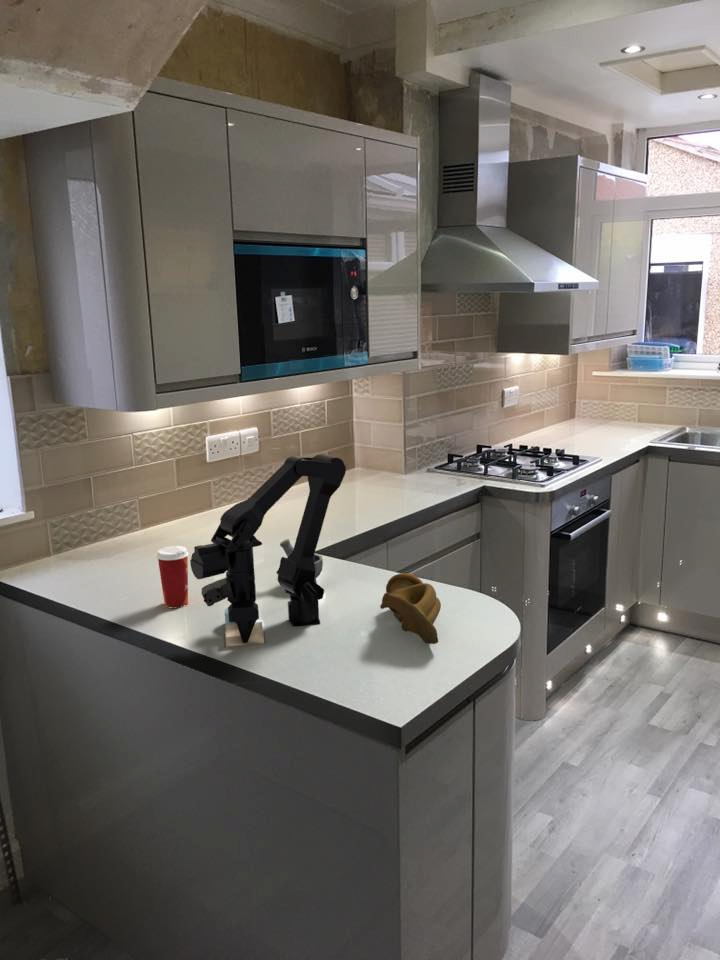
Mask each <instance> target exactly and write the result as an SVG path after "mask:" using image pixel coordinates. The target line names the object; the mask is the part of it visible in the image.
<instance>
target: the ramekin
mask: <svg viewBox="0 0 720 960" xmlns="http://www.w3.org/2000/svg"><path fill="white" fill-rule="evenodd" d="M224 621H225V626H226V625H234V624H236V623H235V622H229V616H228V607H227V608H225V609H224Z"/></svg>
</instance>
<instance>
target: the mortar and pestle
mask: <svg viewBox="0 0 720 960" xmlns="http://www.w3.org/2000/svg"><path fill="white" fill-rule="evenodd" d="M279 546H280V547H281V548H282V550H283V551H284V553H285V555H286V558H287V557H288V556H289V555H290V554H291V553H292V552H293V549H294V547H293V545H292V544H291V541H290V539H289V538H286V539H284V540H282V541H281V542H280V544H279ZM323 561H324V560H323V557H322V555H319V554H316V553H315V554H314V563H315V569H316V574H315V583H317V578H318V577H319V576H320V575H321V573H322V571H323V566H324V562H323ZM317 584H318V583H317Z"/></svg>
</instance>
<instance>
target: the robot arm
mask: <svg viewBox="0 0 720 960" xmlns="http://www.w3.org/2000/svg"><path fill="white" fill-rule="evenodd" d="M346 472H347V466H346V465H345V462H344V461H343V459H341V458H339V457H336V456H332V455H329V454H323V453H319V454H316V455H314V456H313V457H310V456H309V457H306V456H305V457H304V456H303V457H302V456H301V457H300V456H298V457H297V456H289V457H287V458H286V459H285V460H284V463H283V464H282V465H281V466H280V467H279V468H278V469H277V470H276V471H275V472H274V473H273V474H272V475H271V476H270V477H269V478H268V479H266V481H265V482H264V483H263V484H262V485H261V486H259V488H258V489H257V490H256V491H255V492H254V493H253V494H252V495H250V497H248V498H247V499H245V500H242V501H241V502H238V503H236V504H234V505H232V506H231V507H229V509H227V510H226V511H225V512H224V513H223V514H222V515H221V517H220V519H219V520H220V522H219V525H218V527H217V529H216V530H215V532H214V534H213V535H212V538H211V540H210V542H211V543H209V544H208V543H207V544H205V545H197V546H196V545H195V546H194V550H193V551H194V552H193V553H192V555H191V556H190V557H191V558H190V559H189V561H190V562H189V563H190V569H191V572H192V574H193V576H194V577H195V579H196V580H203V579H206V578H211V577H215V576H218V575H219V576H220V575H223V574H225V577H224V578H221V579H218V580H216V581H214V582H213V581H212V582H211V583H208V584H207V585H204V586H203V587H202V588H201V591H200V592H201V596H202V598H203V602H204V603H205V605H206V607H213V606H214V604H217V603H219V602H221V601H224V600H226V599H227V600H226V601H227V602H229V603H230V605H228V607H227V608H228V616H229V622H235V623H236V624H237V626H238V629H239V632H240V636H241V639H242V642H243V643H247V642H248V640H249V638H250V635H251V632H252V630H253V627H254V625H255V623H256V622H257V620H260V615H259V611H260V610H259V605H258V603H256V600H257V594H256V593H257V592H256V591H257V589H256V581H255V580H256V574H255V560H254V548H255V547H260V546H262V545H263V542H262V541H260V540H259V539H258V538H256V536H255V534H256V533H257V532H258V530H259V529H260V527H261V526H262V525H263V521H264V519H265V516H266V514H267V512H268V511H269V510H271V508H272V507H274V505H275V504H276V503H278V501H279V500H280V499H281V498H282V497H283V496H284V495H285V494H286V493H288V491H290V489H292V487H293V486H294V485H296V483H297V482H298V481H299V480H300V479H301V478H302V477H307V481H308V482H307V483H308V488H309V491H308V492H309V494H308V496H307V500H306V503H305V507H304V511H303V515H302V516H301V517H302V518H301V521H300V525H299V528H298V531H297V536H296V539H295V542H294V547H293V548H294V549H293V552H292V553H291V554H290V555H289V556H288V557H287V556H286V557H285V556H281V558H280V559H279V561H280V563H279V566H278V569H277V570H276V574H277V582H278V583H279V586H280V587H281V588H282V589H283V591H284V592H285V594H287V595H289V601H287V615H288V616H287V617H288V622H289V623H290V624H291V627H293V628H294V627H295V628H296V627H304V626H317V625H321V621H320V620H321V619H320V610H319V609H320V607H319V600H322V599H324V594H325V589H324V588H323V587H322V586H320V585H319V584H318V583H315V574H316V569H315V563H314V554H316V551H317V546H318V543H319V541H320V536H321V533H322V529H323V525H324V521H325V519H326V515H327V511H328V507H329V503H330V500H331V498H332V496H333V495H334V493H335V492H337V490H338V489H339V488H340V487H341V484H342V482H343V480H344V478H345V476H346ZM227 536H229V537H231V539H230V538H227Z"/></svg>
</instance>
